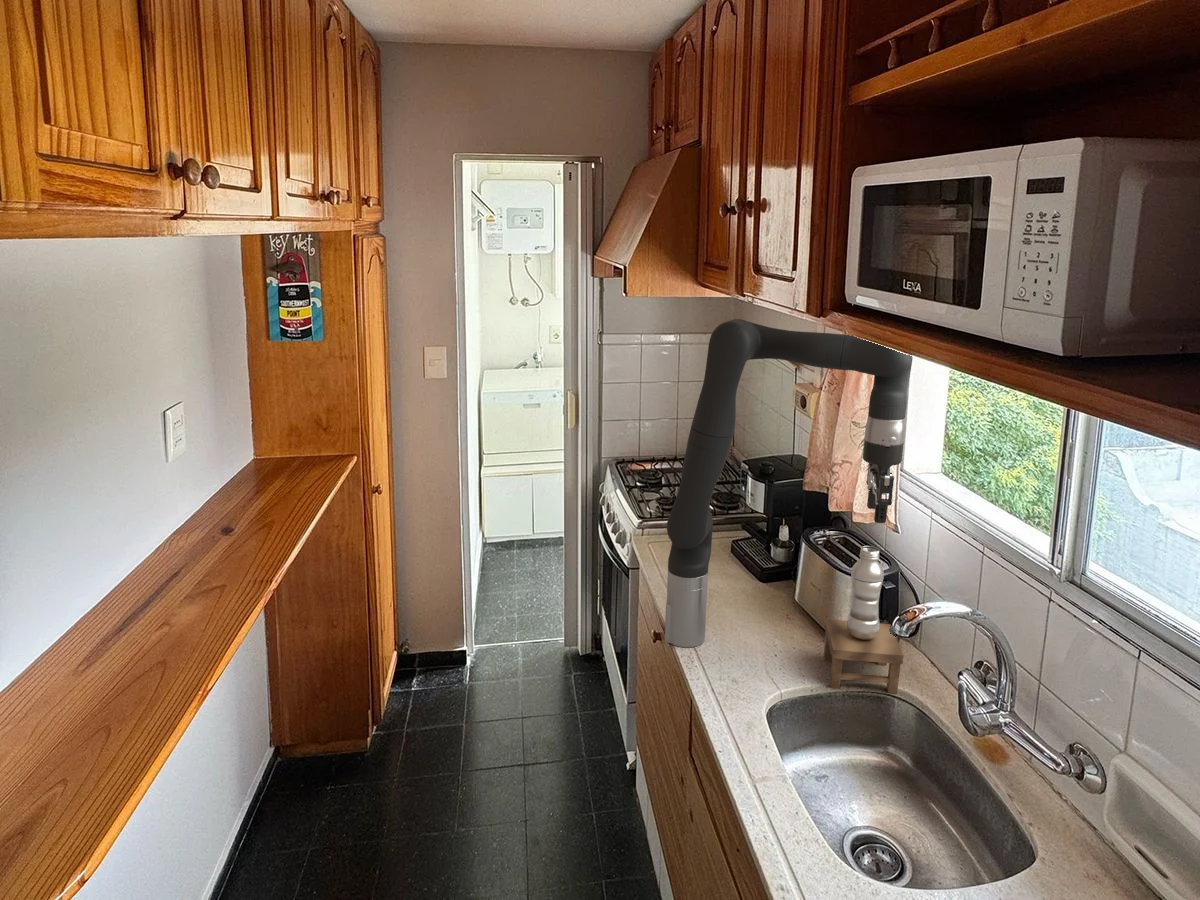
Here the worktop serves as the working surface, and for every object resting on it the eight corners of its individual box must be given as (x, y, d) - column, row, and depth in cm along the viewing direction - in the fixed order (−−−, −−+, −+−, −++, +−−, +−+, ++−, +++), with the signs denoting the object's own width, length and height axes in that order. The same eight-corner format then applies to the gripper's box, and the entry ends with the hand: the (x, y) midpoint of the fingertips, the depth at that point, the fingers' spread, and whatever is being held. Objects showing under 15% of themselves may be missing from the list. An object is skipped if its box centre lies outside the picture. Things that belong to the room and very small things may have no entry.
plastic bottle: (880, 645, 174) (889, 556, 168) (846, 641, 175) (854, 553, 170) (876, 631, 180) (885, 544, 174) (844, 627, 181) (852, 542, 176)
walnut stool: (829, 688, 174) (833, 649, 171) (821, 655, 187) (825, 619, 185) (898, 694, 172) (903, 655, 170) (886, 660, 185) (890, 624, 183)
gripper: (859, 429, 173) (852, 503, 177) (870, 446, 159) (862, 526, 164) (896, 431, 172) (888, 505, 176) (911, 448, 158) (902, 528, 163)
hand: (876, 515), depth 170 cm, fingers open, 8 cm apart
